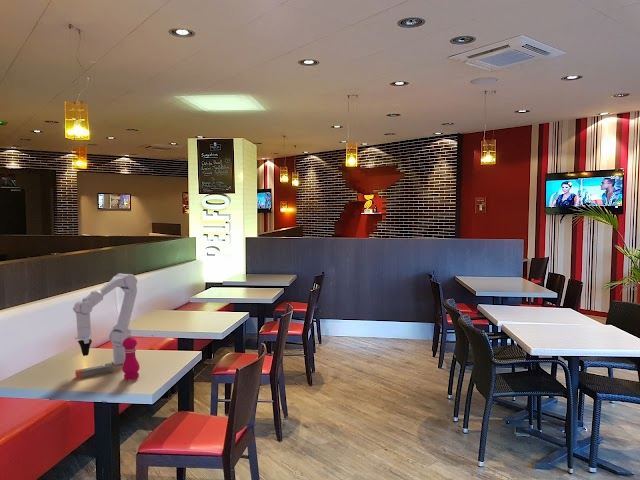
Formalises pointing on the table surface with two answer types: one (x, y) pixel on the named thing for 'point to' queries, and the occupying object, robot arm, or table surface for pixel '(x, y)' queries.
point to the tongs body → (94, 371)
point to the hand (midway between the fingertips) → (85, 355)
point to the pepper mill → (130, 359)
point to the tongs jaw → (86, 368)
